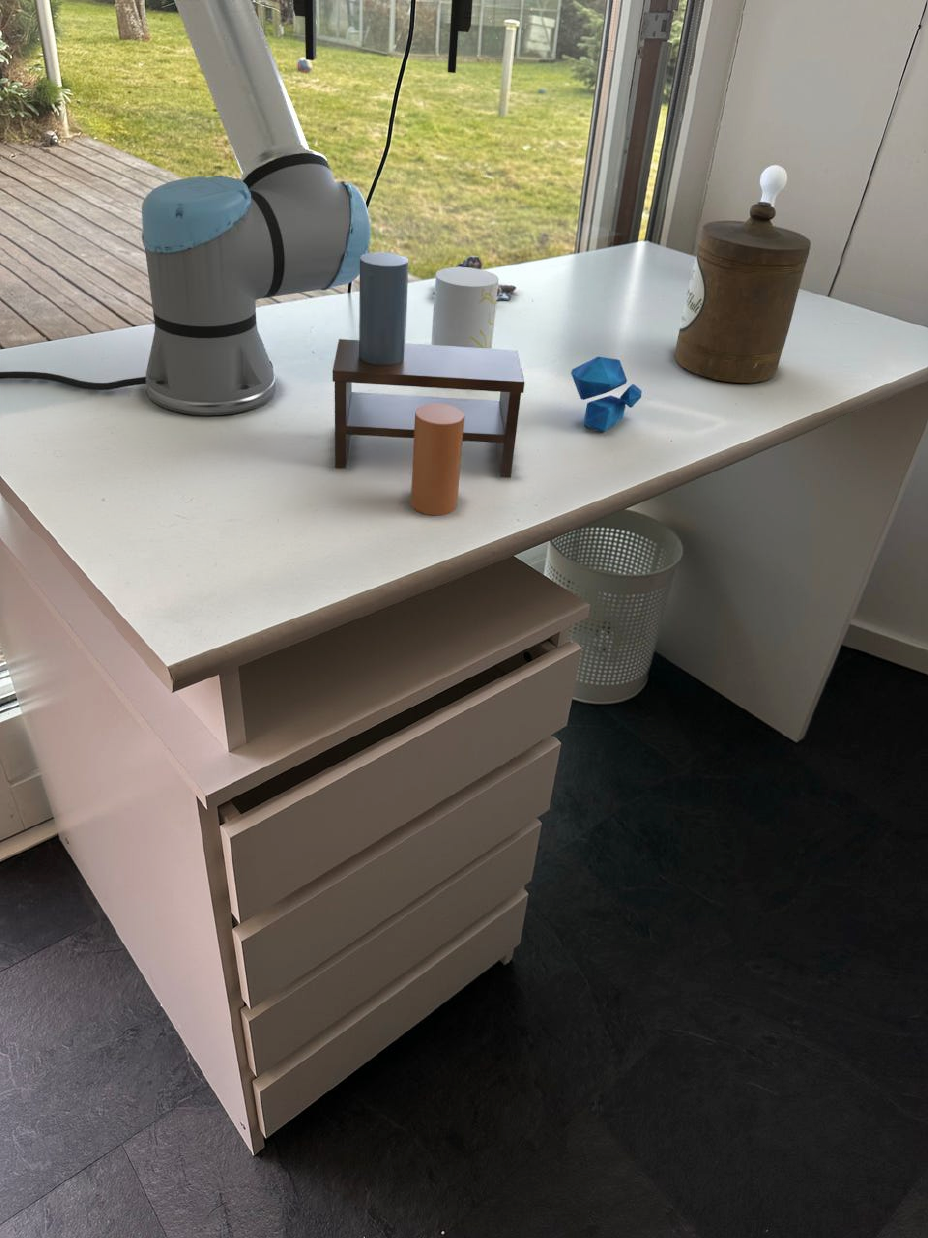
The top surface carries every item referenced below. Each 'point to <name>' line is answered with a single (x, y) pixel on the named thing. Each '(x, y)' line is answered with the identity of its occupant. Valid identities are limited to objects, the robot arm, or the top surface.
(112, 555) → the top surface
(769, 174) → the white light bulb
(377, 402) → the desk shelf
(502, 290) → the stuffed animal
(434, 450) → the copper tin
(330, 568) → the top surface
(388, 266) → the slate tin
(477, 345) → the cup
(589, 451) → the top surface
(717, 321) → the wooden container
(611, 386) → the crystal
